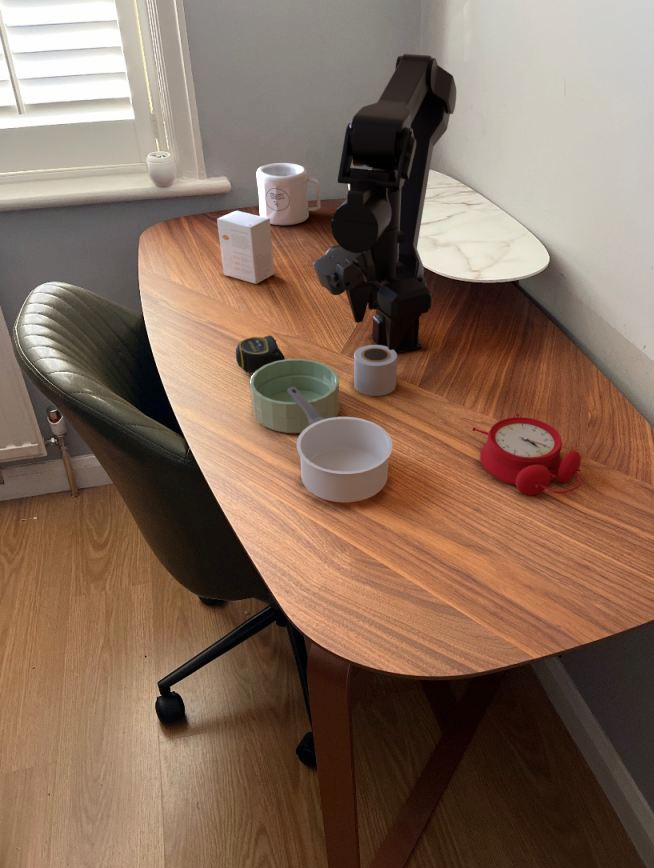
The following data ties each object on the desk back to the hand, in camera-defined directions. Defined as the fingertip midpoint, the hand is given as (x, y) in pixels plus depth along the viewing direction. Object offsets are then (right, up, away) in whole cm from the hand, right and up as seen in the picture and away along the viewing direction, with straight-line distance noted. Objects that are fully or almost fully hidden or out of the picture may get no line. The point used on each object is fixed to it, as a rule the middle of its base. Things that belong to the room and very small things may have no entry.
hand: (375, 335), depth 105 cm
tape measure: (-17, -3, +9) cm, 19 cm away
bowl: (-11, -11, -1) cm, 16 cm away
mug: (-18, +39, +58) cm, 73 cm away
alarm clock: (+20, -20, -10) cm, 30 cm away
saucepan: (-6, -19, -10) cm, 22 cm away
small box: (-23, +19, +35) cm, 46 cm away
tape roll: (0, -6, +5) cm, 8 cm away
